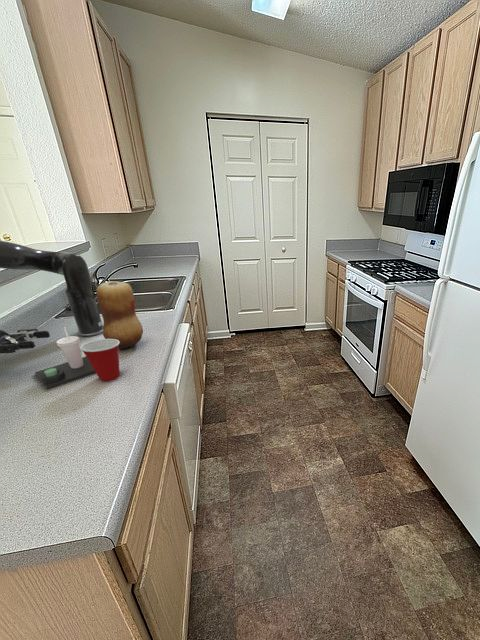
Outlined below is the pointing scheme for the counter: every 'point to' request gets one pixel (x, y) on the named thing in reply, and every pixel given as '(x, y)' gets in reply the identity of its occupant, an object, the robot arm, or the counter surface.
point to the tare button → (51, 372)
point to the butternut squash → (119, 313)
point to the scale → (65, 374)
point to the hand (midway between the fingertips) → (41, 339)
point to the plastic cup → (103, 357)
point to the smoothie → (71, 350)
